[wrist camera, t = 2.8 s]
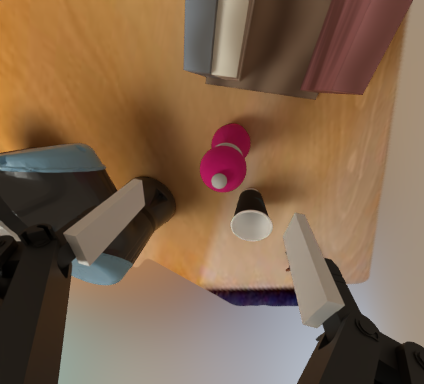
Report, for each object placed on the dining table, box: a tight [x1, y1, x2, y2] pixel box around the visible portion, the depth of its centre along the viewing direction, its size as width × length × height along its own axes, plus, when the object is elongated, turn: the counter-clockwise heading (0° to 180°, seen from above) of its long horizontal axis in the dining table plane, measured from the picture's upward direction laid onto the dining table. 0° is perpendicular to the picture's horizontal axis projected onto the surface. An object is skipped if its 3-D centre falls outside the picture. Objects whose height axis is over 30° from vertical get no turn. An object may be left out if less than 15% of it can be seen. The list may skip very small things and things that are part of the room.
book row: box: [184, 0, 413, 100], centre depth 20 cm, size 19×14×14 cm
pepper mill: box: [200, 123, 250, 192], centre depth 26 cm, size 7×7×20 cm
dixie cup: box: [231, 188, 273, 241], centre depth 37 cm, size 8×8×11 cm
